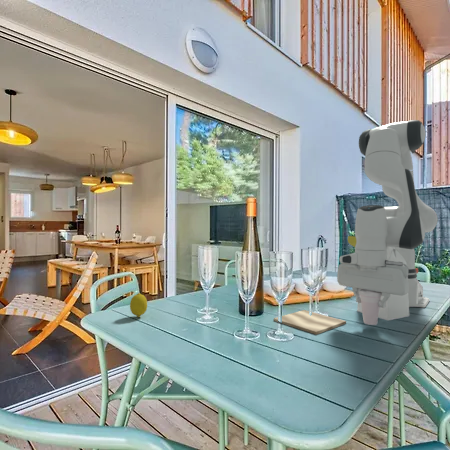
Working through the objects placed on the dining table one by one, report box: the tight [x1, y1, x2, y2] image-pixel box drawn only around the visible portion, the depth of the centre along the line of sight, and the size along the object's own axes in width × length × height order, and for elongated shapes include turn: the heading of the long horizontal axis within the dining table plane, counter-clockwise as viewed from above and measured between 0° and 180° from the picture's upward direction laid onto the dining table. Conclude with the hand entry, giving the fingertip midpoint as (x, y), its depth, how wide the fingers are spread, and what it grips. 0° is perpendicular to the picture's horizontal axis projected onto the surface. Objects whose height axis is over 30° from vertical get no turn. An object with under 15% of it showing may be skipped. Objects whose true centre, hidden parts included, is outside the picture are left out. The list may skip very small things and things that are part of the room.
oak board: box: [273, 309, 347, 336], centre depth 98 cm, size 16×16×1 cm
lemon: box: [129, 292, 148, 318], centre depth 102 cm, size 6×6×8 cm
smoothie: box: [359, 289, 382, 326], centre depth 93 cm, size 6×6×14 cm
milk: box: [356, 247, 410, 321], centre depth 109 cm, size 12×12×26 cm
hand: (370, 304), depth 93 cm, fingers closed on smoothie, 5 cm apart
